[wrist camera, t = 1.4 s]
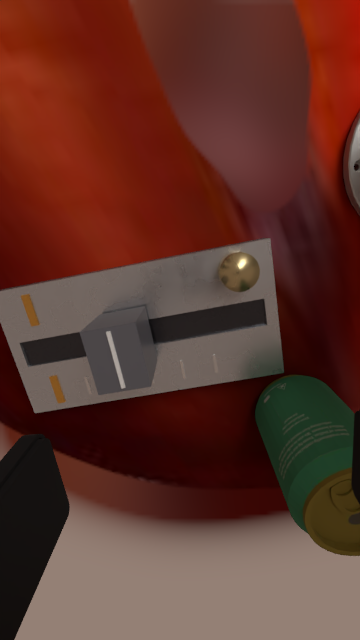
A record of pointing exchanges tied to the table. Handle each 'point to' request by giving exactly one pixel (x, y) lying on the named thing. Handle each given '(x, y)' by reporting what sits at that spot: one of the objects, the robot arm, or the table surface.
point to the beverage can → (312, 458)
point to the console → (150, 323)
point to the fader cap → (120, 350)
